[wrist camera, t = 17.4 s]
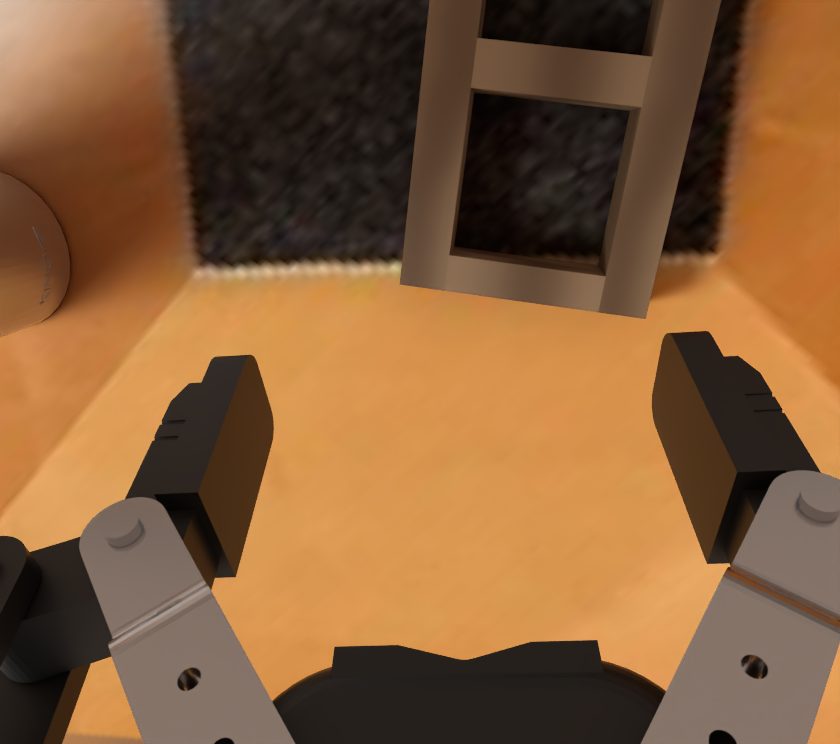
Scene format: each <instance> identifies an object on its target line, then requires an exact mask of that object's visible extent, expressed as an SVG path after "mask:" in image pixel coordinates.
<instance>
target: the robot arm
mask: <svg viewBox="0 0 840 744" xmlns="http://www.w3.org/2000/svg"><path fill="white" fill-rule="evenodd" d="M69 279H70V258H69V252H68V246H67V243H66V240H65V237H64V234H63V231H62V229H61V227H60V225H59V223H58V221H57V220H56V218H55V216H54V214H53V213H52V211H51V210H50V209H49V207H48V206H47V205H46V204H45V203H44V201H43V200H42V199H41V198H40V197H39V196H38V195H37V194H36V193H35V192H34V191H32V190H31V189H30V188H29V187H28V186H27V185H25V184H24V183H22V182H20V181H19V180H17V179H15V178H14V177H12V176H10V175H7V174H5V173H2V172H0V337H3V336H6V335H8V334H11V333H14V332H16V331H19V330H22V329H24V328H27V327H30V326H32V325H35V324H38V323H39V322H41V321H43V320H44V319H46V318H47V317H49V316H50V315H51V314H52V313H53V312H54V311H55V310H56V309H57V308H58V307H59V305H60V303H61V301H62V299H63V298H64V296H65V294H66V291H67V287H68V283H69ZM652 412H653V419H654V423H655V426H656V429H657V432H658V434H659V437H660V440H661V442H662V445H663V448H664V450H665V453H666V456H667V458H668V461H669V464H670V466H671V469H672V472H673V474H674V477H675V480H676V482H677V485H678V488H679V490H680V493H681V496H682V498H683V501H684V504H685V506H686V509H687V512H688V514H689V517H690V520H691V522H692V525H693V528H694V530H695V533H696V536H697V538H698V541H699V544H700V546H701V549H702V552H703V554H704V557H705V560H706V562H707V564H717V563H730V566H731V567H728V568H727V570H726V571H725V573H724V575H723V577H722V579H721V581H720V583H719V585H718V587H717V589H716V591H715V593H714V595H713V597H712V599H711V601H710V604H709V606H708V608H707V610H706V612H705V614H704V616H703V618H702V620H701V622H700V624H699V626H698V628H697V630H696V632H695V634H694V636H693V638H692V640H691V642H690V644H689V646H688V648H687V650H686V652H685V654H684V657H683V659H682V661H681V663H680V665H679V667H678V669H677V671H676V673H675V675H674V677H673V679H672V681H671V683H670V685H669V687H668V689H667V691H665V690H664V689H662V688H661V687H660V686H658V685H657V684H655V683H653V682H652V681H650V680H649V679H647V678H645V677H644V676H642V675H639V674H637V673H635V672H633V671H631V670H629V669H627V668H624V667H621V666H618V665H616V664H613V663H609V662H605V661H601V656H600V652H599V647H598V642H597V640H588V641H548V642H529V643H526V644H522V645H519V646H515V647H512V648H508V649H505V650H501V651H498V652H494V653H491V654H487V655H484V656H481V657H477V658H474V659H469V660H459V659H454V658H450V657H446V656H442V655H437V654H433V653H429V652H425V651H420V650H416V649H412V648H408V647H403V646H399V645H387V646H347V647H335V648H334V656H333V664H332V667H330V668H327V669H324V670H321V671H319V672H317V673H314V674H312V675H310V676H308V677H306V678H304V679H302V680H300V681H299V682H297V683H295V684H294V685H292V686H291V687H289V688H288V689H287V690H285V691H284V692H282V693H281V694H280V695H279V696H278V697H276V698H275V699H274V700H273V701H271V699H270V697H269V695H268V693H267V691H266V690H265V688H264V686H263V684H262V682H261V681H260V679H259V677H258V675H257V673H256V671H255V670H254V668H253V666H252V664H251V662H250V661H249V659H248V657H247V655H246V653H245V651H244V650H243V648H242V646H241V644H240V642H239V641H238V639H237V637H236V635H235V633H234V631H233V630H232V628H231V626H230V624H229V622H228V621H227V619H226V617H225V615H224V613H223V611H222V610H221V608H220V606H219V604H218V602H217V601H216V599H215V597H214V595H213V593H212V592H211V589H212V585H213V582H214V579H215V578H223V577H236V574H237V570H238V567H239V563H240V559H241V556H242V552H243V548H244V544H245V541H246V537H247V533H248V530H249V526H250V522H251V519H252V515H253V511H254V507H255V504H256V500H257V496H258V493H259V489H260V485H261V482H262V478H263V474H264V470H265V467H266V463H267V459H268V456H269V452H270V448H271V444H272V440H273V430H274V426H273V415H272V411H271V407H270V404H269V401H268V397H267V394H266V391H265V387H264V384H263V381H262V378H261V374H260V371H259V368H258V364H257V362H256V359H255V358H254V356H252V355H240V356H222V357H214V358H213V359H212V360H211V362H210V364H209V367H208V369H207V371H206V374H205V376H204V378H203V381H202V383H189V384H188V385H187V386H186V387H185V388H184V389H183V390H182V391H181V392H180V393H179V394H178V395H177V396H176V397H175V398H174V399H173V400H172V401H171V402H170V405H169V407H168V409H167V411H166V413H165V415H164V417H163V419H162V425H160V426H159V428H158V430H157V432H156V434H155V437H154V438H155V440H154V441H152V443H151V445H150V447H149V449H148V451H147V454H146V456H145V458H144V460H143V462H142V464H141V466H140V468H139V471H138V473H137V475H136V477H135V479H134V481H133V483H132V486H131V488H130V490H129V492H128V494H127V496H126V498H125V500H122V501H119V502H117V503H115V504H112V505H110V506H109V507H107V508H105V509H104V510H102V511H101V512H100V513H98V514H97V515H96V516H95V517H94V518H93V519H92V520H91V521H90V522H89V523H88V525H87V526H86V528H85V529H84V531H83V533H82V535H81V537H78V538H75V539H72V540H69V541H66V542H62V543H59V544H56V545H52V546H49V547H46V548H42V549H39V550H36V551H32V552H29V551H28V550H27V548H26V547H25V546H24V544H23V543H22V542H21V541H20V540H18V539H16V538H14V537H9V536H0V744H62V742H63V739H64V736H65V734H66V731H67V728H68V725H69V723H70V720H71V717H72V714H73V711H74V709H75V706H76V703H77V700H78V697H79V695H80V692H81V689H82V686H83V683H84V681H85V678H86V675H87V672H88V669H89V667H90V664H91V663H93V662H96V661H99V660H102V659H105V658H108V657H111V656H112V659H113V662H114V664H115V667H116V670H117V672H118V675H119V678H120V680H121V683H122V686H123V689H124V691H125V694H126V697H127V699H128V702H129V705H130V707H131V710H132V713H133V716H134V718H135V721H136V724H137V726H138V729H139V732H140V735H141V737H142V740H143V743H144V744H807V743H808V740H809V737H810V733H811V730H812V727H813V724H814V721H815V718H816V715H817V712H818V708H819V705H820V702H821V699H822V696H823V693H824V690H825V687H826V683H827V680H828V677H829V674H830V671H831V668H832V665H833V662H834V658H835V655H836V652H837V649H838V646H839V643H840V480H839V479H837V478H834V477H832V476H829V475H826V474H823V473H821V472H820V471H819V469H818V467H817V466H816V464H815V462H814V461H813V459H812V457H811V456H810V454H809V452H808V451H807V449H806V448H805V446H804V444H803V443H802V441H801V439H800V438H799V436H798V434H797V433H796V431H795V429H794V428H793V426H792V425H791V423H790V421H789V420H788V418H787V416H786V415H785V413H782V408H781V406H780V405H779V403H778V402H777V400H776V398H775V397H772V392H771V390H770V388H769V387H768V385H767V383H766V382H765V380H764V379H763V377H762V375H761V374H760V372H758V371H757V370H756V369H754V368H753V367H752V366H750V365H749V364H748V363H747V362H745V361H744V360H743V359H741V358H740V357H739V356H728V357H723V355H722V353H721V351H720V349H719V348H718V346H717V344H716V342H715V340H714V339H713V337H712V335H711V334H710V333H709V332H708V331H700V332H682V333H667V334H666V335H665V336H664V338H663V341H662V346H661V351H660V356H659V362H658V367H657V372H656V377H655V383H654V388H653V394H652Z"/></svg>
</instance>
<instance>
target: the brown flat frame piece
mask: <svg viewBox="0 0 840 744" xmlns="http://www.w3.org/2000/svg"><path fill="white" fill-rule="evenodd" d="M720 4H721V0H653V1H652V6H651V11H650V16H649V21H648V26H647V31H646V35H645V40H644V45H643V50H642V55H632V54H623V53H614V52H604V51H595V50H586V49H576V48H567V47H558V46H548V45H539V44H530V43H520V42H511V41H502V40H492V39H483V38H482V31H483V23H484V15H485V8H486V0H430V1H429V11H428V21H427V30H426V40H425V49H424V59H423V68H422V78H421V87H420V97H419V106H418V116H417V126H416V135H415V145H414V154H413V164H412V173H411V183H410V192H409V202H408V212H407V221H406V231H405V240H404V250H403V259H402V269H401V278H400V284H401V285H408V286H415V287H422V288H430V289H437V290H444V291H451V292H458V293H465V294H472V295H479V296H487V297H494V298H501V299H508V300H515V301H522V302H529V303H536V304H543V305H551V306H558V307H565V308H572V309H579V310H586V311H593V312H600V313H607V314H615V315H622V316H629V317H636V318H643V319H646V315H647V311H648V307H649V302H650V298H651V294H652V290H653V285H654V281H655V277H656V273H657V269H658V264H659V260H660V256H661V252H662V248H663V243H664V239H665V235H666V231H667V227H668V222H669V218H670V214H671V210H672V206H673V201H674V197H675V193H676V189H677V185H678V180H679V176H680V172H681V168H682V163H683V159H684V155H685V151H686V147H687V142H688V138H689V134H690V130H691V126H692V121H693V117H694V113H695V109H696V105H697V100H698V96H699V92H700V88H701V84H702V79H703V75H704V71H705V67H706V63H707V58H708V54H709V50H710V46H711V41H712V37H713V33H714V29H715V25H716V20H717V16H718V12H719V8H720ZM474 93H480V94H489V95H497V96H506V97H515V98H524V99H532V100H541V101H550V102H559V103H567V104H576V105H585V106H594V107H602V108H611V109H620V110H629V111H630V113H629V118H628V123H627V127H626V132H625V137H624V142H623V147H622V152H621V156H620V161H619V166H618V171H617V176H616V181H615V186H614V190H613V195H612V200H611V205H610V210H609V215H608V219H607V224H606V229H605V234H604V239H603V244H602V248H601V253H600V258H599V263H598V266H596V265H588V264H581V263H573V262H566V261H559V260H551V259H544V258H536V257H529V256H521V255H514V254H507V253H499V252H492V251H484V250H477V249H469V248H462V247H455V246H454V245H455V237H456V230H457V222H458V214H459V207H460V199H461V191H462V184H463V176H464V168H465V161H466V153H467V145H468V138H469V130H470V123H471V115H472V107H473V100H474Z"/></svg>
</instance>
